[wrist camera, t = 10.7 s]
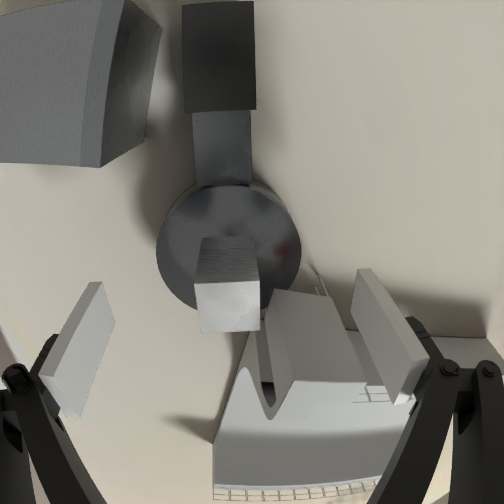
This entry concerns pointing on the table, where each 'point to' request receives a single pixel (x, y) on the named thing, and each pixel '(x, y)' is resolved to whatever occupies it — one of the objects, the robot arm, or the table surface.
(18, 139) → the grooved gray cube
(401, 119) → the table surface
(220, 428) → the skate ramp
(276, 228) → the ratchet
